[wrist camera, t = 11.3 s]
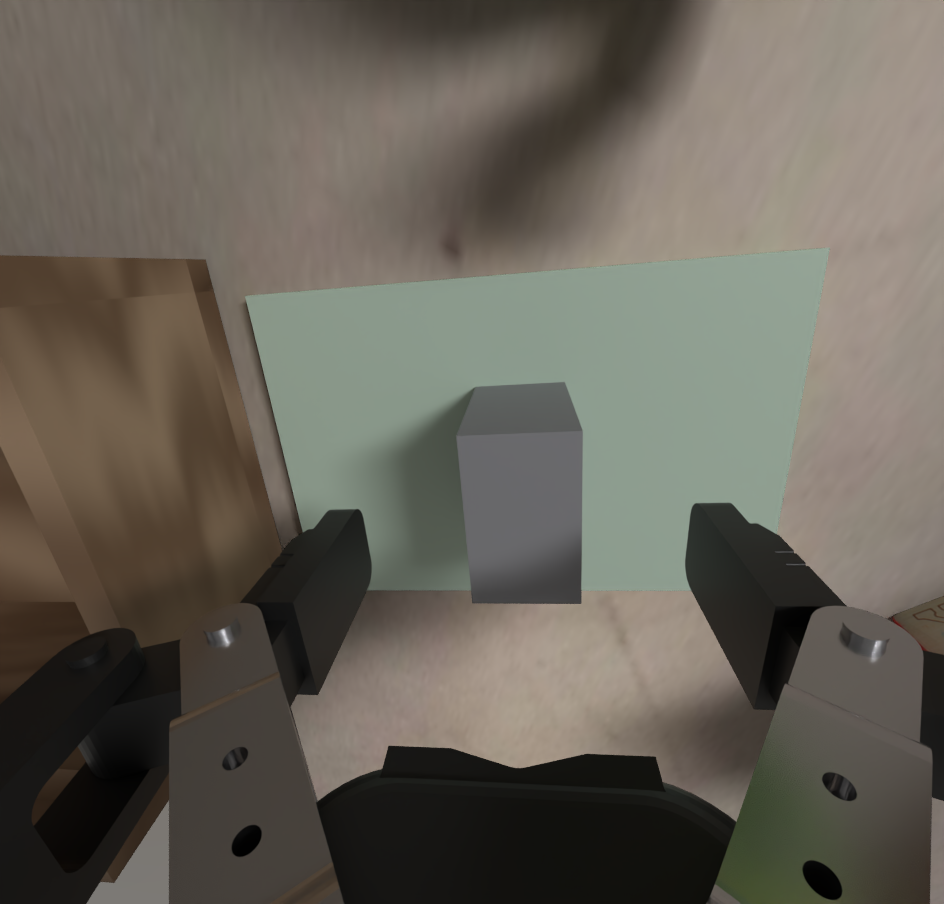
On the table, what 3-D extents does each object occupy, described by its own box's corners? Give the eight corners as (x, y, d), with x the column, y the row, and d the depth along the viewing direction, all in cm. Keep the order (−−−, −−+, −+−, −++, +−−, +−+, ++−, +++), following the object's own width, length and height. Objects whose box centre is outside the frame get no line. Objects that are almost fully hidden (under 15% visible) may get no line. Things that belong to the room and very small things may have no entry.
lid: (263, 294, 17) (126, 308, 11) (806, 249, 14) (994, 236, 9) (327, 573, 21) (254, 688, 15) (751, 571, 19) (852, 705, 13)
